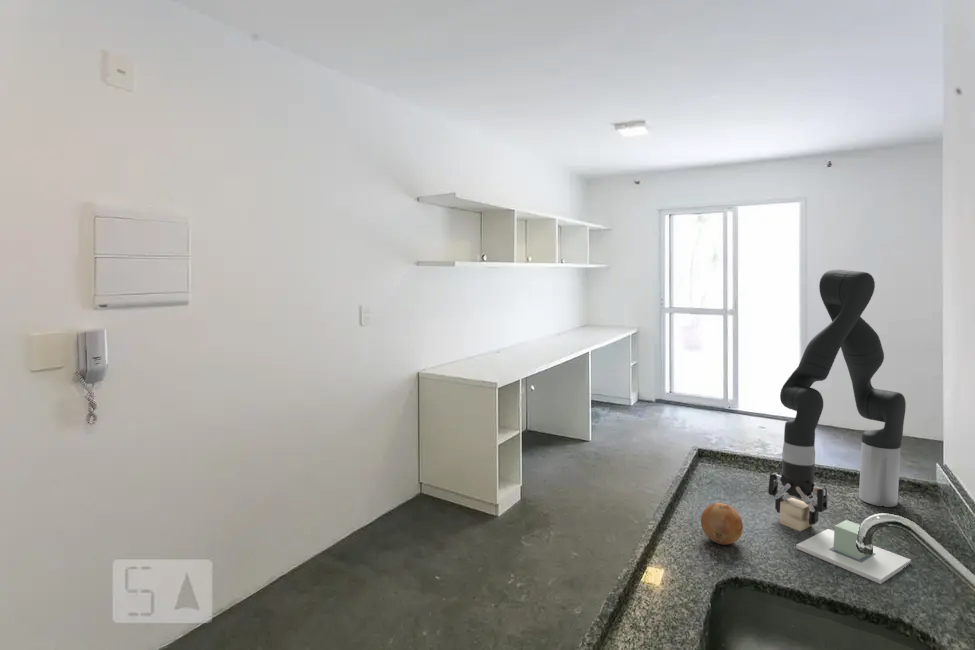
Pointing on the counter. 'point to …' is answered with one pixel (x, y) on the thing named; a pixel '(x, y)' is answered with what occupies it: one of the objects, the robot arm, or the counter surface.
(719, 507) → the onion
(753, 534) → the counter surface
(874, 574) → the baseplate
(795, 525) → the beech block
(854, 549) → the sage block
